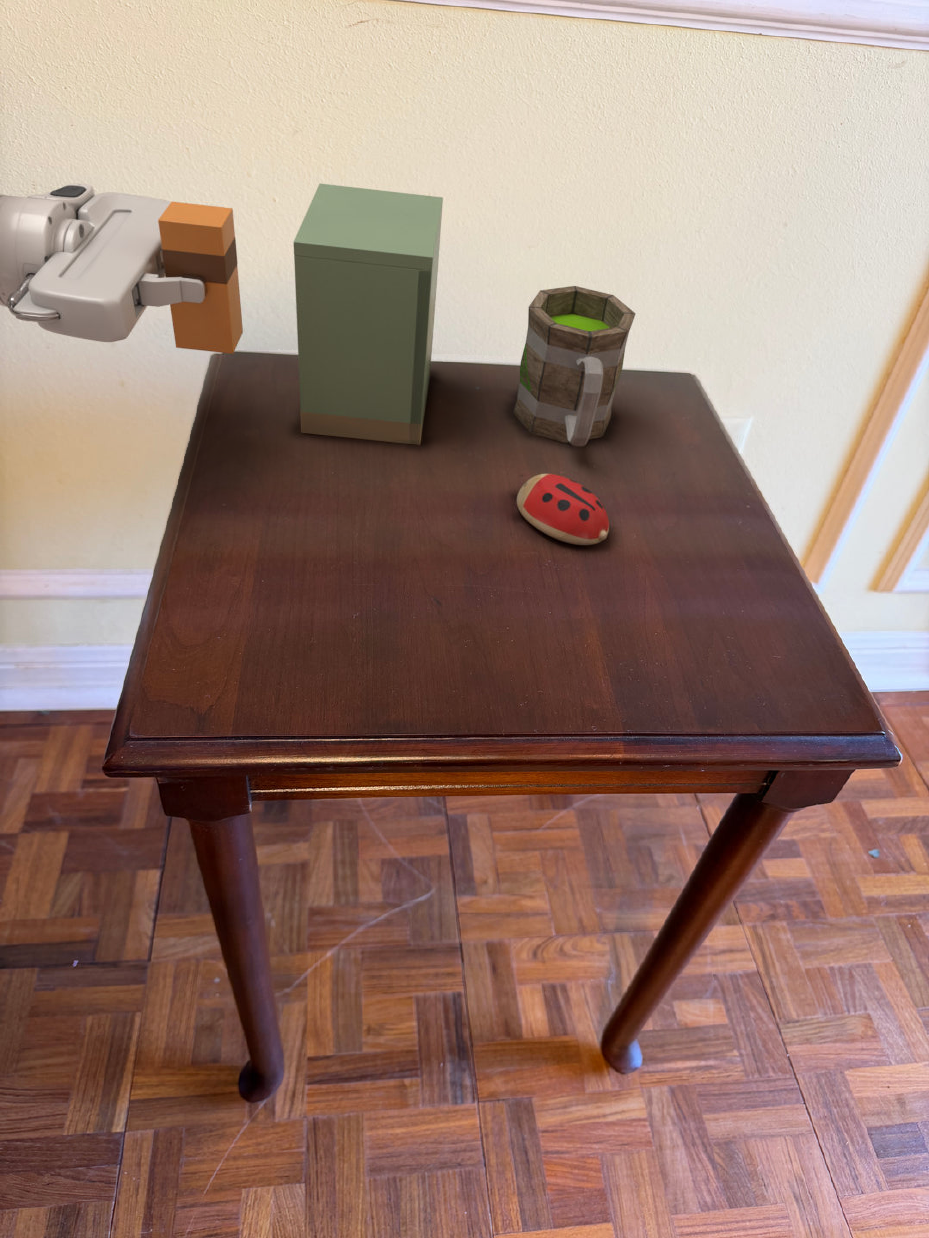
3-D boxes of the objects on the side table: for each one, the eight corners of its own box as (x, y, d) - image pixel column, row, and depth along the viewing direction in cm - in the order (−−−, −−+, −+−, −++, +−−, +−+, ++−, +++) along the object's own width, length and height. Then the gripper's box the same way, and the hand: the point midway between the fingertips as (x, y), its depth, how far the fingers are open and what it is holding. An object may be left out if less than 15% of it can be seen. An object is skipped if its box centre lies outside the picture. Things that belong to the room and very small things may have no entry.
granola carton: (175, 348, 78) (157, 220, 70) (187, 326, 81) (171, 201, 73) (233, 354, 78) (221, 227, 71) (243, 332, 81) (233, 208, 74)
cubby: (301, 432, 90) (293, 241, 76) (323, 363, 100) (319, 183, 86) (420, 445, 90) (433, 257, 77) (430, 374, 100) (443, 197, 87)
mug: (508, 386, 100) (522, 282, 92) (602, 391, 101) (625, 289, 93) (522, 469, 89) (540, 360, 81) (628, 474, 90) (657, 366, 82)
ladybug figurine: (541, 483, 88) (547, 453, 85) (625, 530, 84) (633, 500, 81) (498, 512, 84) (503, 481, 81) (583, 563, 80) (591, 532, 77)
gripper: (-16, 273, 65) (175, 294, 66) (80, 175, 80) (236, 193, 81) (7, 352, 70) (185, 371, 70) (94, 246, 84) (241, 262, 85)
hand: (213, 275), depth 76 cm, fingers closed on granola carton, 4 cm apart
